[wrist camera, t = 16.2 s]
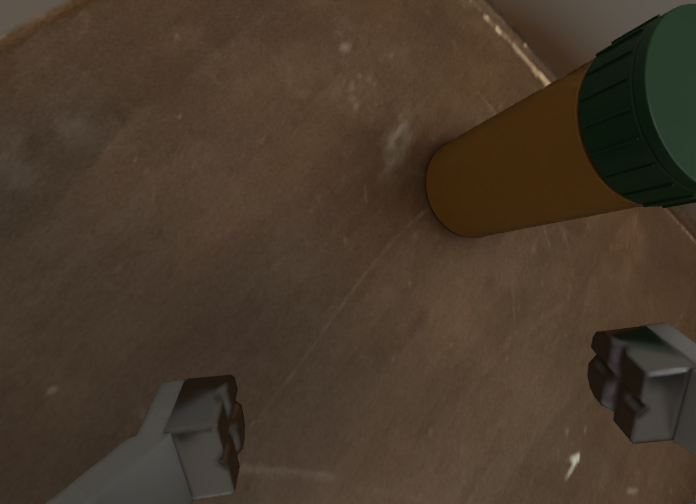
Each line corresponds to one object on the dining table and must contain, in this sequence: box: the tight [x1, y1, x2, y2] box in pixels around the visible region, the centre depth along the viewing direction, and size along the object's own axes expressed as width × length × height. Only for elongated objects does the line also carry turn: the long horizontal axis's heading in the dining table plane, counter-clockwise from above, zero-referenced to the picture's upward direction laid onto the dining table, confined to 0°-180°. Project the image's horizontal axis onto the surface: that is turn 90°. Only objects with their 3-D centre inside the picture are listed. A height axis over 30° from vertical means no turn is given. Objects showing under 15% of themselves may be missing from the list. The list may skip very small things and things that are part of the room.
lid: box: [580, 4, 696, 208], centre depth 15 cm, size 6×6×2 cm
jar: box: [426, 58, 643, 238], centre depth 20 cm, size 6×6×12 cm
